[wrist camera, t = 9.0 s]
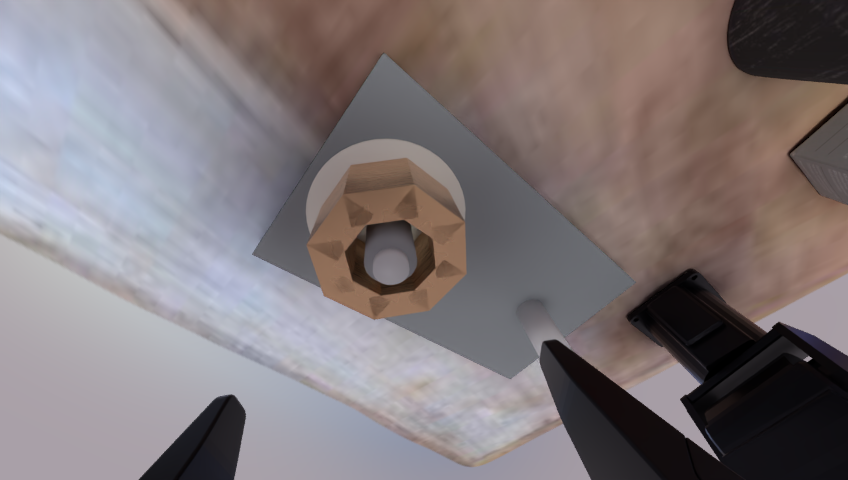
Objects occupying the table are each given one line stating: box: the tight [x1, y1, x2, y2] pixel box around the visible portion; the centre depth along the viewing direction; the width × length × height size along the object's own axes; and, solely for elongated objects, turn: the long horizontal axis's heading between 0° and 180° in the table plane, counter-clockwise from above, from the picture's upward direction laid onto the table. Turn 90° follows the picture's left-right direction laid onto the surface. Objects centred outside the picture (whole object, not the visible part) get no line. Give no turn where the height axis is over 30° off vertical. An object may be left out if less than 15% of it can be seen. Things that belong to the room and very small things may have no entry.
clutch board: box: [252, 53, 636, 379], centre depth 19 cm, size 23×13×7 cm, turn 50°
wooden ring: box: [307, 158, 467, 320], centre depth 16 cm, size 7×7×4 cm
